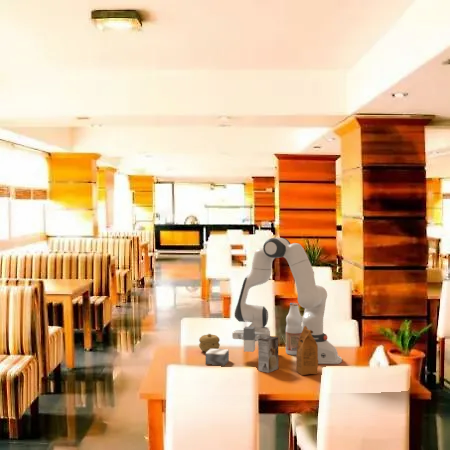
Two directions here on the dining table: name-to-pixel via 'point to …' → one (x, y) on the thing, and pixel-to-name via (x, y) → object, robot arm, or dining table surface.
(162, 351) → the dining table surface
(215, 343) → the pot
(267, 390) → the dining table surface
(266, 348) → the coffee box
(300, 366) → the coffee package
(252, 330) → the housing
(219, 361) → the stand
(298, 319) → the fruit juice
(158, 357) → the dining table surface
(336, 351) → the robot arm
